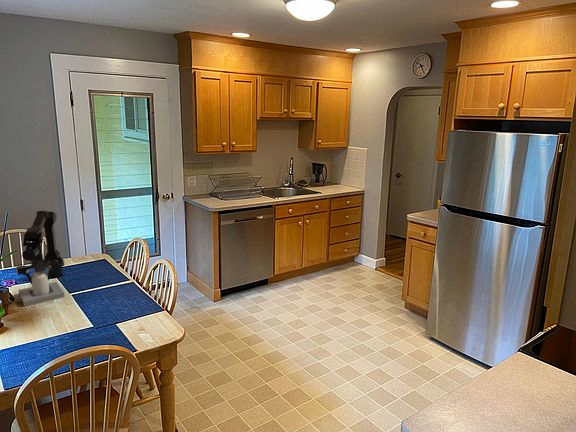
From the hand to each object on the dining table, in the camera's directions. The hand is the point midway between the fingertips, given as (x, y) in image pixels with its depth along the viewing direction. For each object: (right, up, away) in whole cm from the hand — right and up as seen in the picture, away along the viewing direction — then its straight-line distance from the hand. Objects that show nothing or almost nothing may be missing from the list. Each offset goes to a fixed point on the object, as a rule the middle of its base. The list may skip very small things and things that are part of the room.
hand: (39, 282), depth 216 cm
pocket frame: (0, -7, +2) cm, 8 cm away
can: (0, -7, +2) cm, 7 cm away
